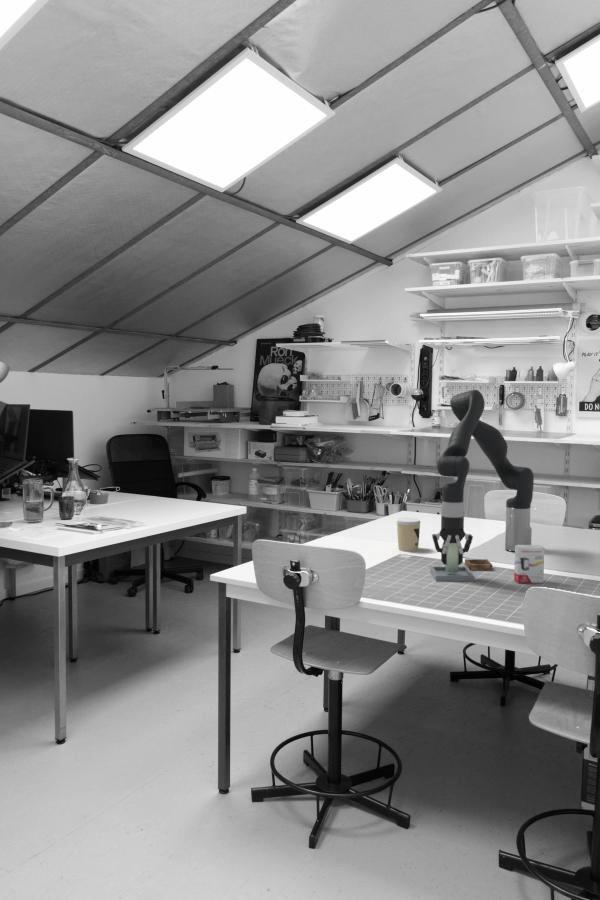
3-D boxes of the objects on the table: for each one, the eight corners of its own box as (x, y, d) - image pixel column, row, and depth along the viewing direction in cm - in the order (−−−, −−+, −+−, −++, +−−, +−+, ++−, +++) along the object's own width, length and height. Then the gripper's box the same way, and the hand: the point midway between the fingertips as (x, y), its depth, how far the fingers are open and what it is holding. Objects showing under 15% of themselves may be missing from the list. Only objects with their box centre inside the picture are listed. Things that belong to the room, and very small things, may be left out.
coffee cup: (419, 552, 277) (420, 522, 276) (395, 551, 279) (395, 521, 278) (420, 547, 286) (420, 518, 285) (397, 546, 288) (397, 517, 287)
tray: (466, 571, 248) (466, 566, 248) (474, 581, 235) (474, 576, 235) (430, 571, 248) (430, 566, 248) (435, 581, 236) (435, 575, 236)
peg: (457, 569, 244) (457, 540, 243) (459, 572, 239) (459, 543, 239) (444, 569, 244) (444, 540, 243) (446, 572, 240) (446, 543, 239)
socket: (487, 564, 258) (487, 559, 258) (492, 570, 250) (492, 564, 249) (464, 564, 258) (464, 559, 258) (469, 570, 250) (469, 564, 250)
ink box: (517, 583, 233) (518, 548, 232) (513, 579, 238) (514, 544, 237) (544, 583, 233) (545, 548, 232) (539, 579, 238) (540, 544, 237)
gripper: (471, 512, 244) (470, 561, 245) (429, 512, 244) (429, 561, 246) (476, 516, 236) (475, 567, 238) (432, 516, 237) (432, 566, 238)
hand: (451, 563), depth 242 cm, fingers closed on peg, 4 cm apart
